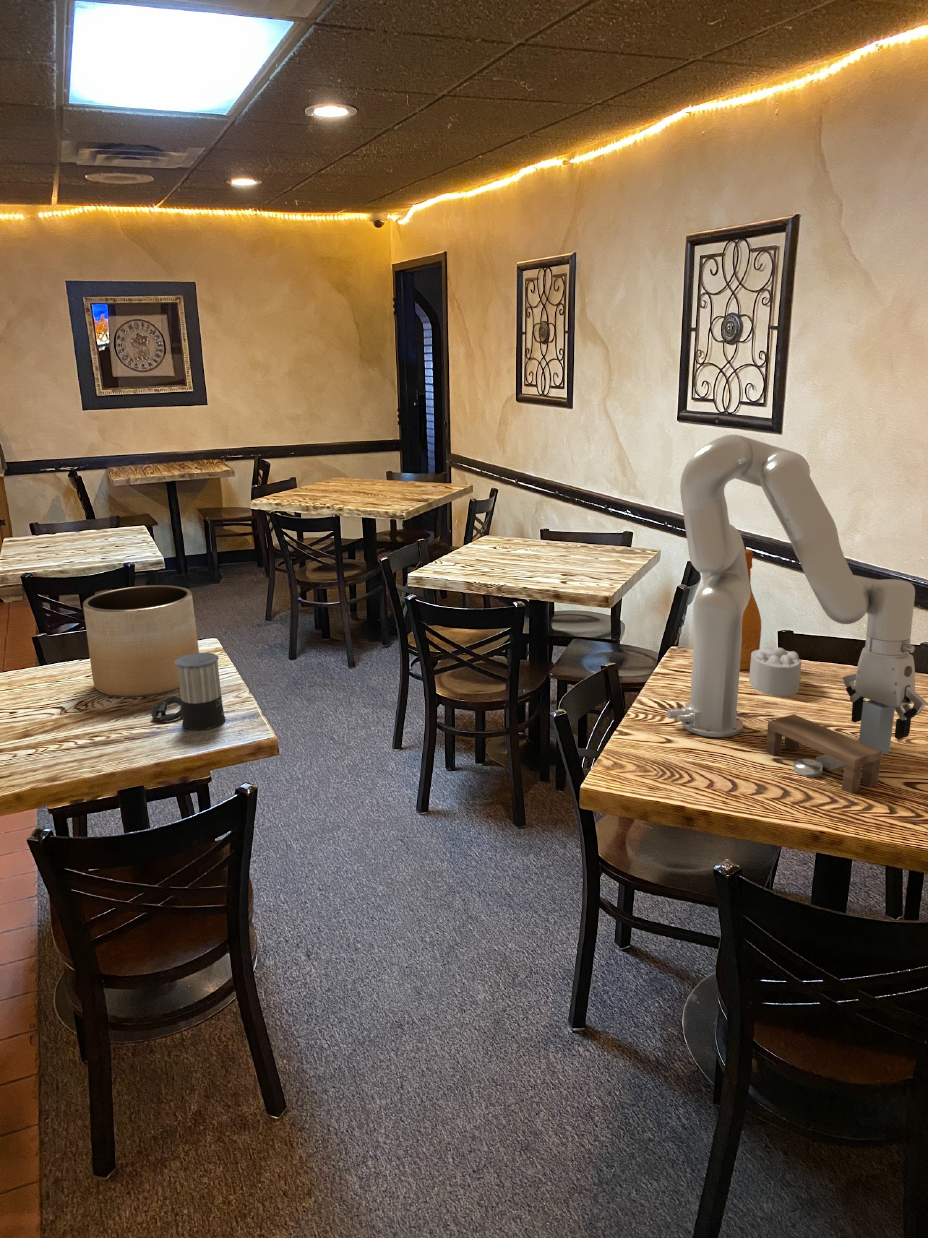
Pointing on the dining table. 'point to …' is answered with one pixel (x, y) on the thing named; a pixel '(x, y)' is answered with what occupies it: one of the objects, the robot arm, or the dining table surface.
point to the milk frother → (195, 693)
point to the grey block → (869, 731)
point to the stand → (827, 748)
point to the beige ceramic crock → (139, 639)
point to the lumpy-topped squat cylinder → (775, 671)
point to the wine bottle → (750, 624)
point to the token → (808, 767)
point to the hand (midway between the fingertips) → (879, 728)
